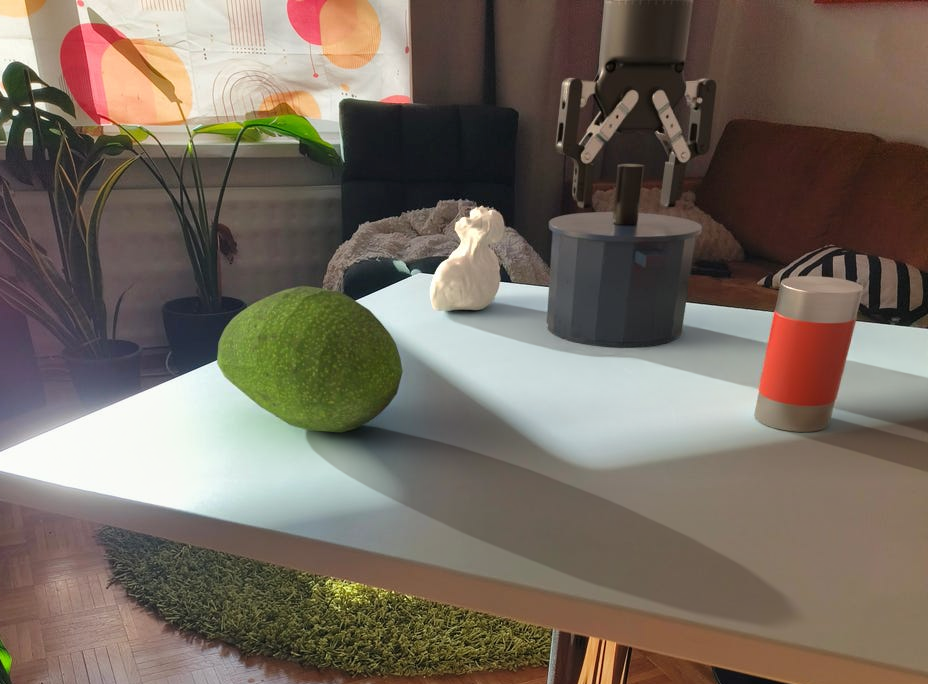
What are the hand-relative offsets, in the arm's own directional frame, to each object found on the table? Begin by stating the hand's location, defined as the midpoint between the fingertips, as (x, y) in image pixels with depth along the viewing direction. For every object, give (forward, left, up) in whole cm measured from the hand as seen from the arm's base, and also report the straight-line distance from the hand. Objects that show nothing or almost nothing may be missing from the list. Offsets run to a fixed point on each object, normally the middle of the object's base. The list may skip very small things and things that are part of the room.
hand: (626, 206), depth 85 cm
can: (-5, +28, -11) cm, 31 cm away
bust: (+13, -11, -12) cm, 21 cm away
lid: (0, 0, -2) cm, 2 cm away
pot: (0, 0, -11) cm, 11 cm away
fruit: (+32, +23, -12) cm, 41 cm away
